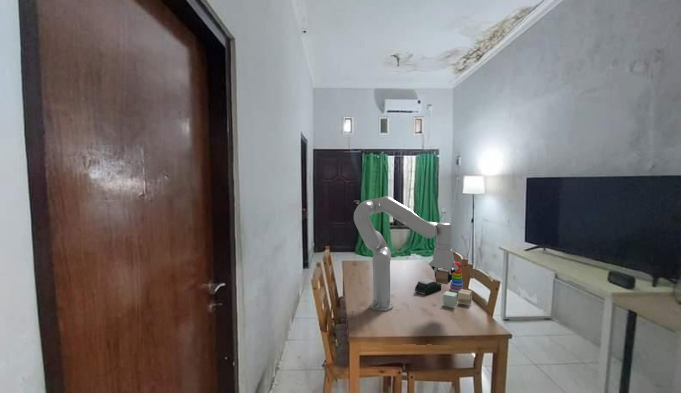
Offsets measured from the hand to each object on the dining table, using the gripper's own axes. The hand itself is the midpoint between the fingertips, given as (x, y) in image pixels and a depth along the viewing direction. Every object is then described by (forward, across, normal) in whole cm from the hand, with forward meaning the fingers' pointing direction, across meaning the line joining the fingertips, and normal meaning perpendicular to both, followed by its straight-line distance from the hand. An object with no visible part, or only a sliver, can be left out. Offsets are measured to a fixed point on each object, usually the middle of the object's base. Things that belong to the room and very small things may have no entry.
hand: (443, 279), depth 162 cm
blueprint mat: (+17, +6, +15) cm, 24 cm away
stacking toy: (+18, -2, +36) cm, 40 cm away
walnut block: (+1, 0, 0) cm, 1 cm away
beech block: (+17, +7, +19) cm, 26 cm away
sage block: (+17, +1, +11) cm, 20 cm away
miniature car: (+18, -16, +24) cm, 34 cm away
